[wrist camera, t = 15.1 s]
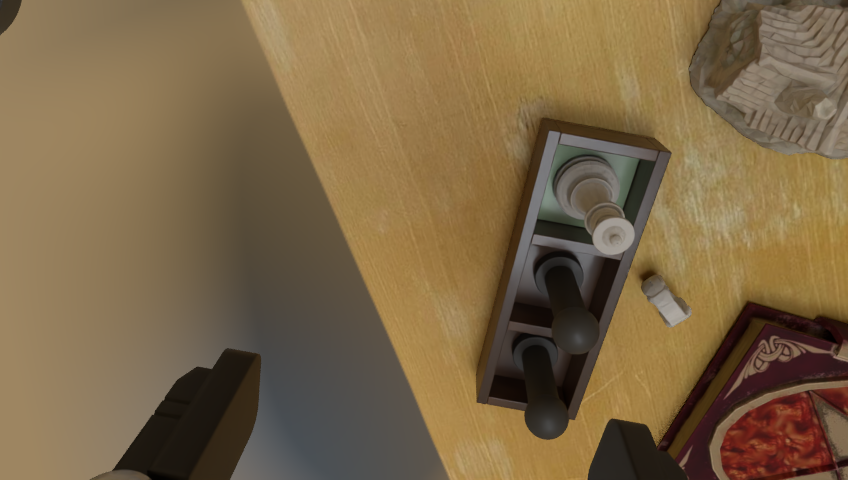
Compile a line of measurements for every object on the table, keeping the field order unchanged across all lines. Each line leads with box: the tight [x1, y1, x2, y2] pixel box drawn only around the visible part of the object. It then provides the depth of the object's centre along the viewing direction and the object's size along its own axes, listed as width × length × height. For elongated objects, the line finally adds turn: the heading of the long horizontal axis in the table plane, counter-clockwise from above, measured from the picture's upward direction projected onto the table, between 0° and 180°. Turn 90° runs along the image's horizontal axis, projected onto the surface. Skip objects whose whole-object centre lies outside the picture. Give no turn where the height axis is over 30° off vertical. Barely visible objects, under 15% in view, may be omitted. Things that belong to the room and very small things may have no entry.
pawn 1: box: [534, 251, 600, 354], centre depth 40 cm, size 4×4×10 cm
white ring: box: [641, 274, 692, 327], centre depth 43 cm, size 4×2×4 cm, turn 42°
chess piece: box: [553, 155, 635, 255], centre depth 36 cm, size 4×4×10 cm
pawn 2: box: [512, 333, 569, 440], centre depth 43 cm, size 4×4×10 cm
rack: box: [476, 118, 672, 420], centre depth 43 cm, size 8×22×4 cm, turn 170°
